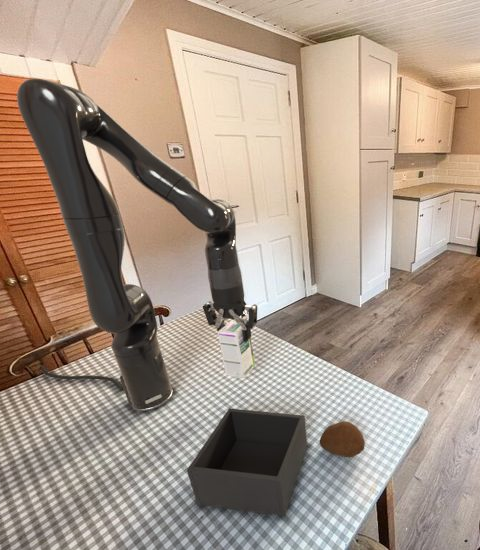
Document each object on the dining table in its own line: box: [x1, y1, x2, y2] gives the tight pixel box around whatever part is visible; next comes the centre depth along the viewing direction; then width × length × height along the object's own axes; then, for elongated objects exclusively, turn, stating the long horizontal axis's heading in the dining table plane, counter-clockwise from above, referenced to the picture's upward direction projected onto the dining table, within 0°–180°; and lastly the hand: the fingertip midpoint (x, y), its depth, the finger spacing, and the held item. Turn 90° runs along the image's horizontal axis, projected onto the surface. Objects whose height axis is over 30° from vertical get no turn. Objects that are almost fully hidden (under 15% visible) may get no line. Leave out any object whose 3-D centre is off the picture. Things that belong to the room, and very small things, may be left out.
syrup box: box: [217, 320, 256, 379], centre depth 83 cm, size 6×6×14 cm
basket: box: [186, 407, 308, 517], centre depth 63 cm, size 18×15×10 cm
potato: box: [319, 420, 366, 459], centre depth 69 cm, size 7×10×7 cm
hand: (235, 338), depth 82 cm, fingers closed on syrup box, 6 cm apart
